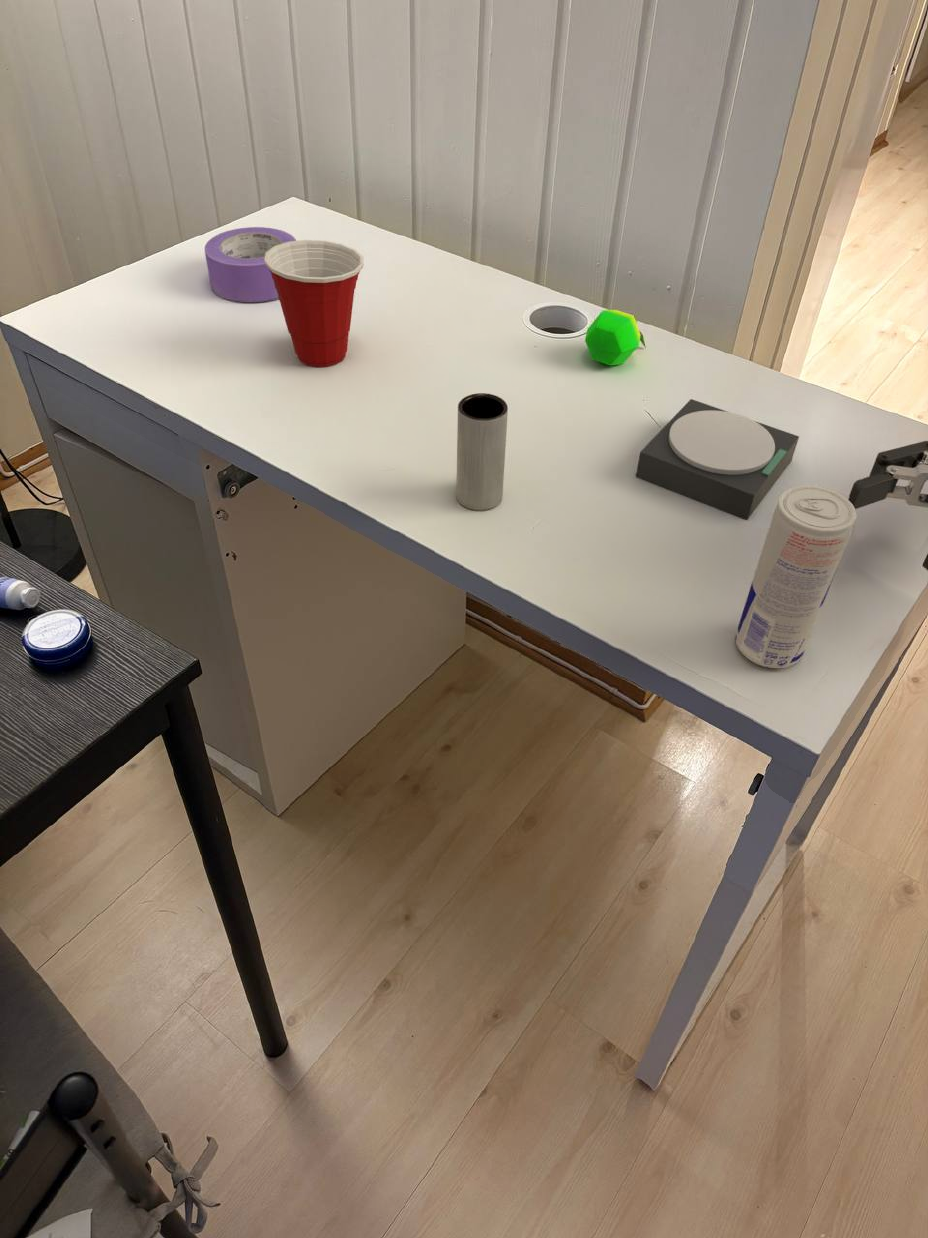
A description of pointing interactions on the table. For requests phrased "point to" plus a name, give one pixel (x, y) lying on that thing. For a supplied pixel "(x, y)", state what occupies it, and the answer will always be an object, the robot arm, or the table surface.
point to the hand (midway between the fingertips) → (889, 527)
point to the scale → (717, 458)
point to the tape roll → (243, 263)
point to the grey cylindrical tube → (481, 450)
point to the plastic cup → (316, 296)
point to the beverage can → (794, 574)
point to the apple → (613, 337)
